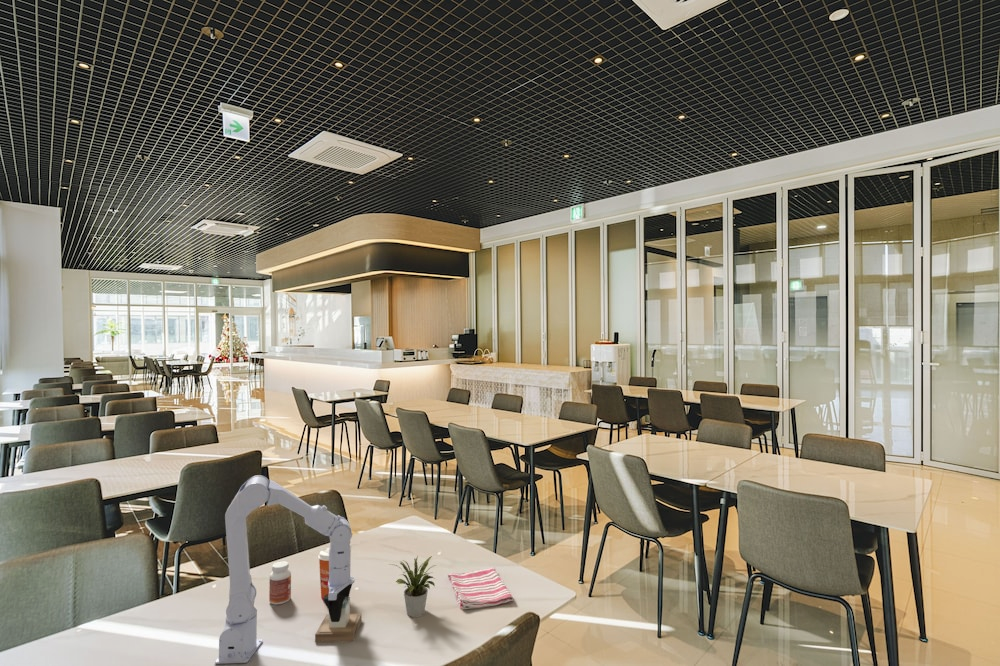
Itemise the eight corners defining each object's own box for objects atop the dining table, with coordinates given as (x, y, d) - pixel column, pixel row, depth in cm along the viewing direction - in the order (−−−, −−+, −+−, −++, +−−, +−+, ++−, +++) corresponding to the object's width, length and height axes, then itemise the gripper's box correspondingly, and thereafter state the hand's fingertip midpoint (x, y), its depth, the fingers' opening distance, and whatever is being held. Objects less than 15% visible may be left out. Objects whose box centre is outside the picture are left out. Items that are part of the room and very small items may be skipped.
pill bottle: (292, 601, 155) (293, 565, 155) (271, 607, 152) (271, 570, 152) (288, 593, 160) (289, 558, 161) (267, 598, 157) (268, 563, 157)
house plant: (388, 630, 139) (388, 570, 140) (385, 605, 153) (386, 551, 153) (439, 622, 143) (439, 565, 144) (432, 599, 157) (432, 546, 157)
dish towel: (460, 613, 149) (460, 601, 149) (447, 578, 172) (447, 568, 172) (514, 605, 154) (514, 594, 154) (494, 572, 176) (495, 562, 176)
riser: (353, 640, 134) (353, 632, 134) (315, 642, 134) (315, 633, 134) (361, 620, 144) (361, 613, 144) (326, 621, 144) (326, 613, 144)
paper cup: (312, 598, 157) (312, 553, 158) (331, 587, 164) (331, 544, 164) (330, 604, 153) (330, 558, 154) (348, 593, 160) (349, 549, 161)
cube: (345, 627, 137) (345, 605, 137) (328, 627, 137) (328, 605, 137) (349, 618, 142) (350, 596, 142) (333, 618, 141) (333, 597, 142)
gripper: (347, 575, 133) (347, 627, 132) (360, 553, 147) (359, 600, 147) (320, 576, 132) (320, 628, 132) (335, 553, 147) (335, 600, 146)
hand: (339, 613), depth 139 cm, fingers open, 7 cm apart
